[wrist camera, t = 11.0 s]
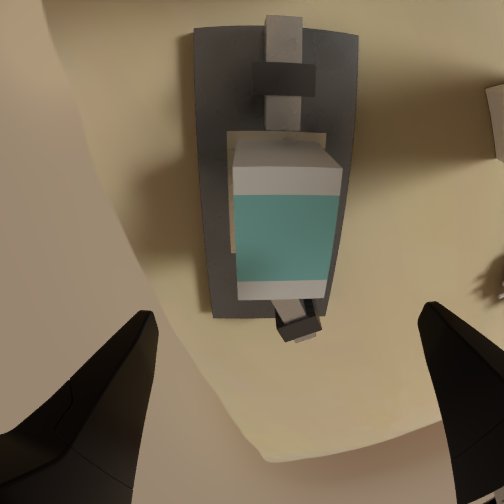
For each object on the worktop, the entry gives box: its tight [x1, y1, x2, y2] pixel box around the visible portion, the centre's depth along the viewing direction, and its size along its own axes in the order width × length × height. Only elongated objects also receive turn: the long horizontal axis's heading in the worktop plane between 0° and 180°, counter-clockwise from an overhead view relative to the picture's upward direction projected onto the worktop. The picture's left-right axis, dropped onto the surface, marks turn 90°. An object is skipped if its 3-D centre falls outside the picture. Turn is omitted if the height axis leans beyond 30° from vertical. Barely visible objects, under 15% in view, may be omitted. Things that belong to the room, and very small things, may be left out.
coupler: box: [233, 140, 343, 300], centre depth 15 cm, size 7×4×5 cm, turn 1°
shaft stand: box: [194, 15, 358, 343], centre depth 17 cm, size 9×20×4 cm, turn 0°
